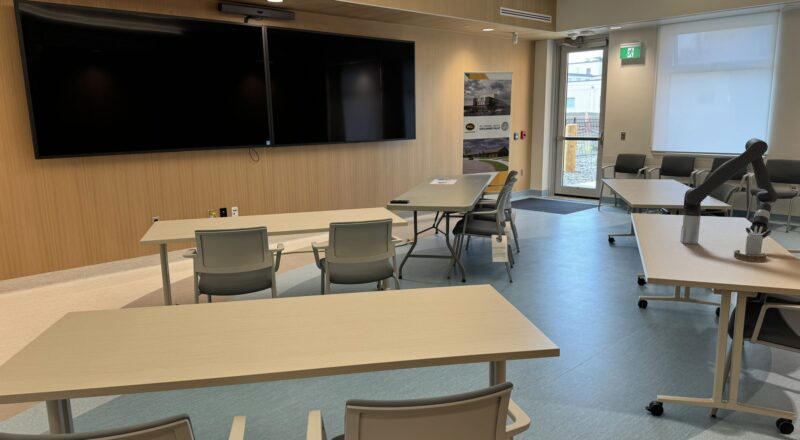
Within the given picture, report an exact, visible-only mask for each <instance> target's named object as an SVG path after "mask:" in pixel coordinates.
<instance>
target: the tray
mask: <svg viewBox="0 0 800 440" xmlns="http://www.w3.org/2000/svg"><path fill="white" fill-rule="evenodd" d="M733 257H734V258H735V259H738V260H741V261H745V262H765V261H766V260H767V259H766V257H767V254H766V253H764V252H761V254H760V255H756V256H755V255H748V254H747V253H745V254H744V253H741V250H740V249H736V250H734V251H733Z"/></svg>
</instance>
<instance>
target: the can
mask: <svg viewBox="0 0 800 440" xmlns="http://www.w3.org/2000/svg"><path fill="white" fill-rule="evenodd" d="M745 241H746V242H745V254H746V255H755V256H756V255H762V248H763V237H762V234H760V233H753V232H752V233H749V234H748V233H747V235H746V240H745Z"/></svg>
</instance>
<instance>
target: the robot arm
mask: <svg viewBox="0 0 800 440" xmlns="http://www.w3.org/2000/svg"><path fill="white" fill-rule="evenodd" d="M744 148H745V151H743V152H742V153H741V154H739V155H738V156H736V157H734V158H731V159H729V160H727V161H725V162H723V163H722V164H721V165H719V166H718V167H717V168H716V169H714V170H713V171H712V173H711V174H710V175H709V176H708V177H707V178H706V179H705V180H704V181H703V182H702V183H701V184H700V185H698V186H697V187H695V188H694V187H693V188H689V189H688V190H686V191H685V193H684V195H683V196H684V197H683V216H682V217H683V218H682V219H683V220H682V225H681V228H680V229H681V230H680V239H679V240H680V242H681V244H689V245H697V244H699V238H700V237H699V235H700V228H701V227H700V226H701V216H702V210H701V207H702V206H701V204H702V202H703V201H704V200H706V198H707V197H708V196H710V195H711V194H712V192H714V191H715V190H717V189H718V188H719V187H721V186H723V185H724V184H725V183H727V182H728V181H729V180H730V179H732V178H733V177H735V176H736V174H738V173H739V172H741V171H742V170H743V169H745V168H746V167H747V166H748V165H749V164H751V167H752V170H753V174H754V179H755V183H756V187H757V188H758V189H760V190H764V191H758V192H757V193H756V194H755V200H756V210H755V213H754V214H753V219H752V224H751V225H750V226H749V227H745V232H746V233H747V235H748V234H749V233H760V234H762V237H763V239H765V238H767V237H769V236H770V235H771V234H772V230H771V229H769V227H768V225H769V221H770V216H771V210H772V205H771V203H776V202H777V201H778V197H779V196H778V193H777V191H776V190H775V188H774V186H773V184H772V181H771V178H770V177H771V176H770V173H769V169H768V168H767V166H766V164H765V161H764V159H763V158H764V157H763V155H765V153H766V152H767V151H768V149H769V146H768V143H767V142H766V141H764V140H763V139H762V140H761V139H760V138H755V137H753V138H750V139H749V140H748V141H747V142H745V146H744Z"/></svg>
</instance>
